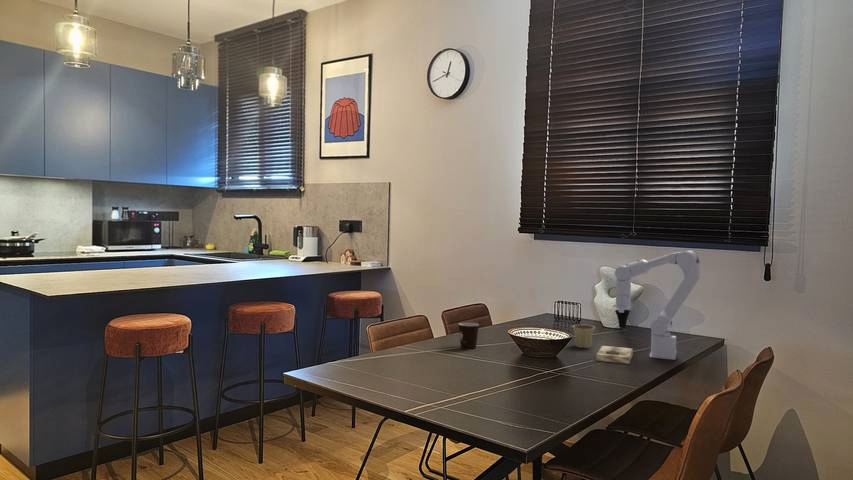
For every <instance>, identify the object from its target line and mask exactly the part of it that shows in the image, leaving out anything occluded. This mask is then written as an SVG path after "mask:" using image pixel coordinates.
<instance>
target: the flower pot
mask: <svg viewBox="0 0 853 480" xmlns="http://www.w3.org/2000/svg"><path fill="white" fill-rule="evenodd" d="M571 327H572V330H573V334H574V340H575V341H574V342H575V347H577V348H579V349H580V348H584V349H590V348H591V347H592V342H593V341H592V340H593V334H594V331H595V330H596V327H595V326H593V325H590V324H574V325H572V326H571Z"/></svg>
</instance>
